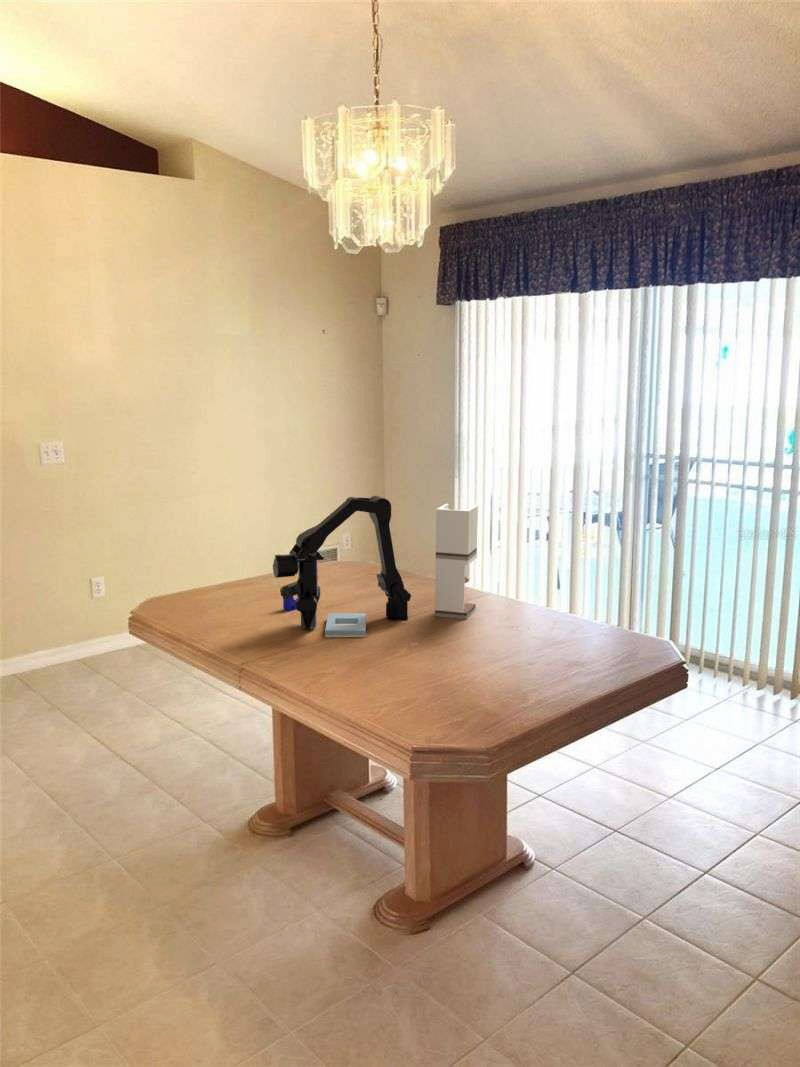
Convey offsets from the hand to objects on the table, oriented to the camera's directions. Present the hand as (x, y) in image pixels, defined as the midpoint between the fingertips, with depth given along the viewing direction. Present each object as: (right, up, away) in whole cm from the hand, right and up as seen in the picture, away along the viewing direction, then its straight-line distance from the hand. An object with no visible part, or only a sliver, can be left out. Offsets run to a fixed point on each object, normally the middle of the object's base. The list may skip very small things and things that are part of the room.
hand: (308, 624), depth 267 cm
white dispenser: (+46, +2, +17) cm, 49 cm away
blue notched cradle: (-6, +3, +24) cm, 25 cm away
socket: (+12, -1, +1) cm, 12 cm away
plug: (0, -1, 0) cm, 1 cm away
